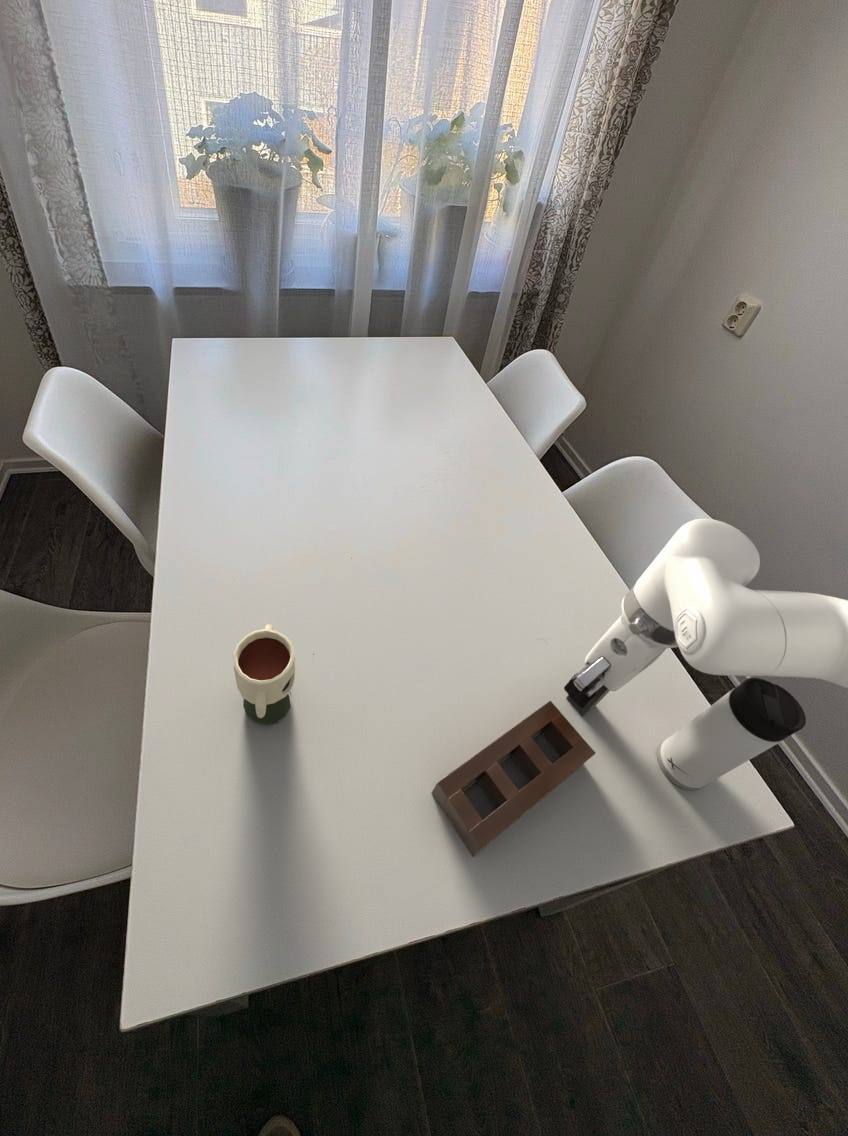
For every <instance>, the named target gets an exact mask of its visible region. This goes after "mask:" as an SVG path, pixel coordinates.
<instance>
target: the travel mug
mask: <svg viewBox="0 0 848 1136" xmlns="http://www.w3.org/2000/svg"><path fill="white" fill-rule="evenodd" d="M806 719H807V717H806V713H805V711H804V709H803V707H802V705H801V704H800V703H799V701H798V700H797V699H796V697H794V696H793V695H792V694H791V693H790V692H789V691H788V690H786V688H784V687H782V686H780V685H778V684H777V683H772V682H771V681H768V680H766V679H763V678H759V677H749V678H746V679H745V680H744V681H743V682H741V683H740V684H739V685H737V686H735V687H734V688H732V689H731V690H730V691H728V692H727V693H725V694H724V695H723V696H721V697H720V698H719V699H718V700H716V701H715V702H714V703H712V704H711V705H710V706H709V707H707V708H706V709H705V710H703V711H701V713H699V714H698V715H696V717H694V718H693V719H691V720H690V721H689V722H687V723H686V724H685V725H683V726H682V727H680V729H678V730H677V731H675V732H674V733H673V734H672V735H670V736H668V738H666V739H665V740H664V741H662V742H661V743H660V744H659V746H657V751H656V758H657V763H658V766H659V767H660V769H661V771H662V773H663V774H664V776H665V777H666V778H667V779H668V780H669V781H670V782H671V783H672V784H673V785H675V786H677V787H679V788H680V789H684V790H687V791H697V790H700V789H701V788H704V787H705V786H707V785H708V784H710V783H711V782H713V781H716V780H718V779H719V778H721V777H723V776H724V775H726V774H728V773H729V772H731V771H733V770H734V769H736V768H738V767H740V766H741V765H743V764H745V763H747V762H749V761H750V760H752V759H754V758H755V757H757V756H759V755H761V754H762V753H764V752H766V751H767V750H769V749H771V748H773V747H774V746H776V745H778V744H780V743H781V742H783V741H785V740H786V739H787V738H788V737H791V736H792V735H794V734H796V733H798V732H799V731H801V730H803V728H804V727H805V726H806V723H807V720H806Z"/></svg>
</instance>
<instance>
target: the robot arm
mask: <svg viewBox="0 0 848 1136" xmlns="http://www.w3.org/2000/svg"><path fill="white" fill-rule="evenodd" d="M760 565H761V557H760V554H759V551H758V549H757V547H756V546H755V544H754V543H753V542H752V540H751V539H750V538H749V537H748V536H747V535H746V534H745V533H743V532H742V531H741V530H739V529H738V528H736V527H735V526H733V525H730V524H729V523H726V522H724V521H721V520H717V519H714V518H695V519H692V520H690V521H688V522H686V523H684V524H683V525H681V526H680V527H679V528H678V529H677V531H676V532H675V533H674V534H673V535H672V537H671V538H670V539H669V541H668V542H667V543H666V544H665V546H663V548H662V550H661V551H660V552H659V553H658V554H657V555H656V557H655V558H654V560H652V562H651V563H650V564H649V565H648V567H647V568H646V569H645V570H644V572H643V573H642V574H641V575H640V577H639V578H638V579H637V580H636V581H635V583H634V584H633V586H631V588H630V589H629V590H628V592H627V593H626V594H625V595H624V597H623V598H622V600H621V607H620V609H621V612H622V613H621V615H620V616H619V617H618V619H617V620H615V622H614V623H613V624H611V626H610V627H609V628H608V630H607V631H606V632H605V633H604V634H603V635H602V636H601V637H600V639H599V640H598V641H597V642H596V644H595V645H594V646H592V648H591V649H590V651H589V652H588V654H587V655H586V656H585V658H584V665H585V666H584V667H582V669H580V670H579V671H578V672H576V673H575V674H574V675H573V676H572V677H571V679H570V680H568V682H567V683H566V684H565V686H563V690H564V691H565V692H566V693H567V696H568V695H569V697H570V698H571V699H572V700H573V701H574V702H576V703H577V705H578V706H579V707H580V708H584V707H585V706H586V705H587V704H588V703H589V702H590V701H591V700H592V699H593V698H594V697H595V696H596V695H597V694H596V691H597V690H598V689H599V688H600V687H602V686H603V685H604V686H605V687H606V688H608V690H610V691H609V692H617V691H619V690H620V689H622V688H623V687H624V686H626V685H627V684H628V683H630V682H631V681H632V680H634V679H635V678H636V677H637V676H638V675H640V674H641V673H643V671H645V670H646V669H647V668H648V667H650V666H651V665H652V664H653V663H654V662H656V661H657V660H658V659H659V658H660V657H661V656H662V655H663V653H664V652H665V651H666V650H667V649H674V648H675V649H676V648H678V649H679V651H680V654H681V655H682V657H683V659H684V660H685V661H686V663H688V665H690V667H692V668H694V669H695V670H697V671H698V672H701V673H704V674H708V675H713V676H729V677H732V676H735V677H736V676H737V677H778V678H782V677H783V678H805V679H817V680H822V681H825V682H829V683H832V684H835V685H838V686H839V687H843V688H845V689H848V599H844V598H840V597H835V596H830V595H827V594H826V595H825V594H821V593H814V592H803V591H791V590H771V589H751V588H749V587H747V585H749V583H751V581H752V580H753V579H754V578H755V577H756V576H757V574H758V572H759V570H760ZM606 670H608V671H607V672H606V673H605V675H604V674H603V672H604V671H606ZM597 677H598V678H599V679H600V681H599V682H598V683H597V684H595V685H594V686H593V685H592V684H591V682H592V681H593V680H595V679H596V678H597Z"/></svg>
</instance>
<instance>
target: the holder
mask: <svg viewBox="0 0 848 1136" xmlns="http://www.w3.org/2000/svg"><path fill="white" fill-rule="evenodd" d="M540 734H542V736H543V737H544V739H545V740H546V741H547V742H548V743H549V744H550V746H551V747H552V748H553V749H554V750H555V752H556V753H557V754H558V755H559V758H558V759H557V760H556V761H554V762H553V763H552V761H551V760H550V759H549V757H548V756H547V755H546V754H545V753H544V752H543V750H542V749H541V748H540V746H539V745H538V744H537V742H536V741H535V740H534V739H535V738H536V737H538V736H539V735H540ZM595 755H596V751H595V750H594V749H593V748H592V747H591V746H590V744H589V743H588V742H587V741H586V740H585V739H584V738H583V737H582V735H581V734H580V733H579V732H578V730H577V729H576V728H575V727H574V726H573V725H572V723H570V721H568V719H567V718H566V717H565V716H564V714H562V712H561V711H560V710H559V709H558V707H557V706H556V705H555V704H554V703H553V701H552V700H549V701H547V702H546V703H545V704H543V705H542V706H541V707H539V708H538V709H537V710H535V711H534V712H532V713H531V714H530V715H528V716H527V717H526V718H524V719H522V721H520V722H519V723H517V724H516V725H514V726H513V727H512V728H511V729H509V730H507V731H506V732H505V733H504V734H502V735H501V736H499V737H498V738H496V740H494V741H493V742H491V743H490V744H488V745H487V746H485V747H484V748H483V749H481V750H480V751H479V752H477V753H475V755H473V756H472V757H470V758H469V759H468V760H466V761H464V763H462V764H460V765H459V766H458V767H457V768H455V769H454V770H452V771H451V772H450V773H448V774H447V775H446V776H444V777H442V778H441V779H440V780H439V781H437V783H436V784H435V786H434V787H433V789H432V791H431V794H432V796H433V797H434V799H435V800H436V802H437V804H438V805H439V807H440V808H441V810H442V811H443V813H444V815H445V816H446V818H447V819H448V821H449V823H450V824H451V825H452V827H453V829H454V831H455V832H456V833H457V835H458V836H459V838H460V840H461V841H462V843H463V844H464V846H465V848H466V849H467V851H468V852H469V854H470V855H471V857H475V856H476V855H477V854H478V853H479V852H481V851H482V850H483V849H484V848H486V847H487V846H489V844H490V843H491V842H493V841H494V840H495V839H496V838H497V837H499V836H500V835H501V834H502V833H503V832H504V831H506V830H507V829H508V828H510V827H511V826H512V825H513V824H515V822H516V821H517V820H519V819H520V818H521V817H522V816H524V815H525V814H526V813H528V811H530V810H531V809H532V808H533V807H535V806H536V805H537V804H538V803H540V801H542V800H543V799H544V798H545V797H546V796H547V795H549V794H550V793H551V792H552V791H554V789H556V788H557V787H558V786H559V785H561V784H562V783H563V782H564V781H565V780H566V779H568V778H569V777H570V776H571V775H572V774H574V773H575V772H576V771H577V770H578V769H580V768H581V767H582V766H583V765H585V764H586V763H587V762H588V761H589V760H590V759H592V758H593V757H594V756H595ZM509 758H511V759H512V760H513V761H514V763H515V764H516V765H517V767H518V768H519V769H520V771H521V772H522V773H523V774H524V776H525V777H526V779H527V781H529V783H527V784H526V785H524V786H523V787H522V788H521V789H520V790H519V789H518V788H517V786H516V785H515V783H514V782H513V781H512V780H511V777H509V775H508V774H507V773H506V771H505V770H504V768H503V767H502V766H501V764H502V763H504V762H505V761H506V760H507V759H509ZM475 783H478V784H479V786H480V787H481V789H482V790H483V792H484V793H485V794H486V796H487V797H488V799H489V800H490V801H491V803H492V804H493V806H494V807H495V808H496V809H495V810H493V811H492V812H491V813H490V814H489V815H487V816H486V817H485V818H484V819H483V818H482V817H481V815H480V814H479V813H478V811H477V810H476V808H475V807H474V805H473V804H472V803H471V801H470V799H469V797H468V796H467V795H466V793H465V791H466V790H468V789H469V788H471V787H472V786H473V785H474V784H475Z"/></svg>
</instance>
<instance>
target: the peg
mask: <svg viewBox="0 0 848 1136" xmlns="http://www.w3.org/2000/svg"><path fill="white" fill-rule="evenodd" d="M607 671H608V670H606V671H604V672H603V674H604V675H605V673H606V672H607ZM599 681H600V679H599V678H598V677H597V678H596V679H595V680H593V681H592V682H591V684H592V685H593V686H594V685H595V684H597V683H598V682H599ZM610 692H611V691H610V690H608V688H606V687H605V686H604V685H603V686H602V687H600V688H599V689H598V690H597V691H596V694H597V695H596V696H595V697H594V698H593V699H592V700H591V701H590V702H589V703H588V704H587V705H586V706H585V707H584V708H580V707H579V706H578V705H577V703H576V702H574V701H573V700H572V699H571V698H570V697H569V695H568V694H567V696H566V698H565V699H566V700H567V702H569V703H570V704H571V705H572V707H574V709H575V710H576V712H578V713H579V715H580V716H581V717H583V716H584V715H586V714H587V713H588V712H590V711H591V710H592V709H593V708H595V707H596V706H597V705H598V704H600V702H601V701H602V700H603V699H604V698H605V697H606V696H607V695H608V693H610Z"/></svg>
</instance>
